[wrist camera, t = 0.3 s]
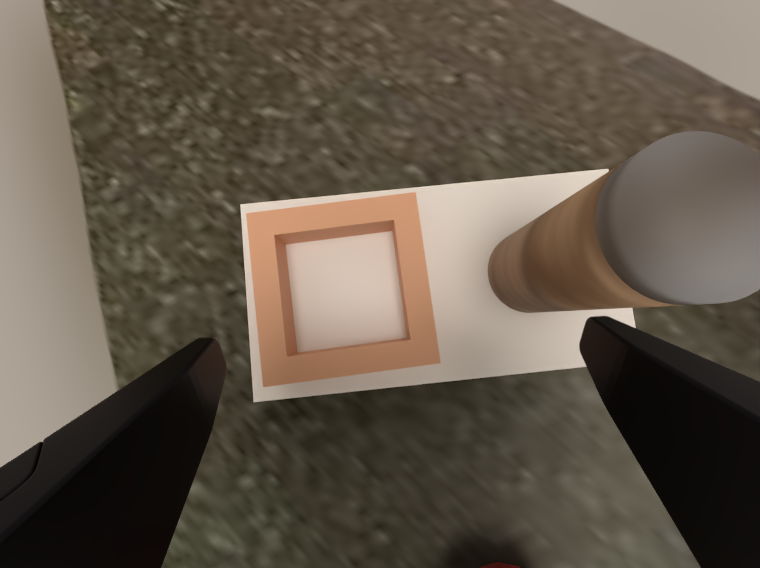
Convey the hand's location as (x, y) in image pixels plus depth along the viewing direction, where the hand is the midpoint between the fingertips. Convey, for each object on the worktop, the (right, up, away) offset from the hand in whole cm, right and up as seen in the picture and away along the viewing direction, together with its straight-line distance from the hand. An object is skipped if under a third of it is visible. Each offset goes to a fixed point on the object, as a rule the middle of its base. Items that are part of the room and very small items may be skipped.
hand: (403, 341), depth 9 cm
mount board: (+3, +1, +14) cm, 15 cm away
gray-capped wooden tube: (+8, +2, +13) cm, 16 cm away
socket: (-3, +1, +13) cm, 13 cm away
